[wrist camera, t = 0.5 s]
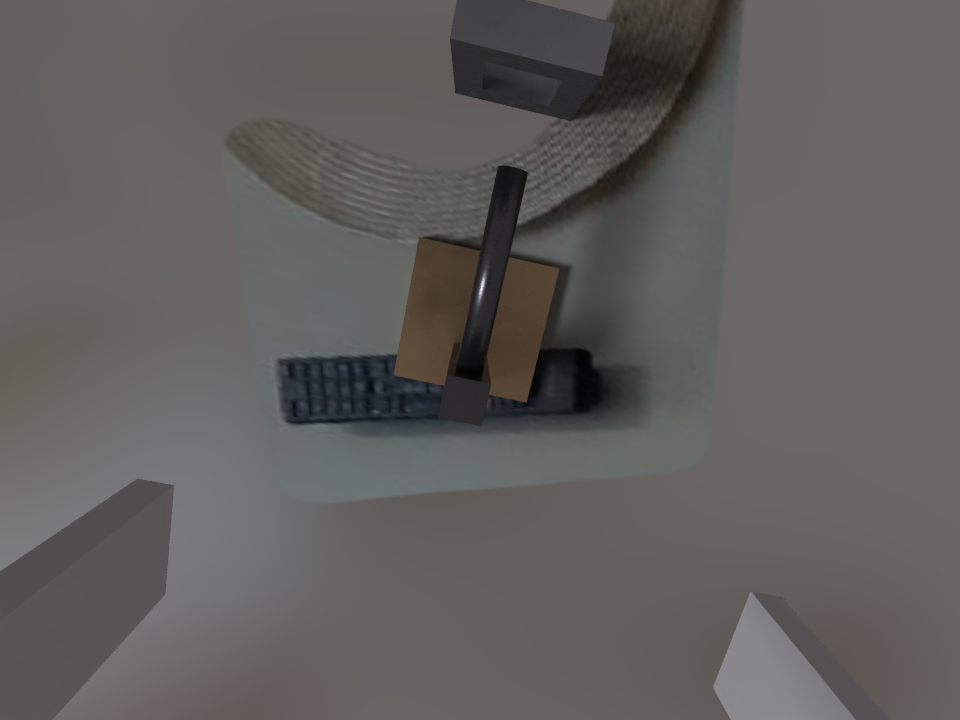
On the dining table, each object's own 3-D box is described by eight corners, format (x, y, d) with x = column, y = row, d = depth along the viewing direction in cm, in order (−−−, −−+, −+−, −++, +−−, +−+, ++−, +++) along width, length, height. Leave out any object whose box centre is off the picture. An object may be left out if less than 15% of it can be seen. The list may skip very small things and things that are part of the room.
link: (462, 52, 31) (460, -17, 23) (579, 81, 32) (615, 23, 24) (455, 93, 32) (450, 38, 24) (570, 121, 32) (602, 76, 24)
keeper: (432, 176, 33) (414, 138, 22) (571, 208, 33) (616, 186, 23) (395, 372, 36) (365, 417, 25) (525, 398, 36) (546, 453, 26)
